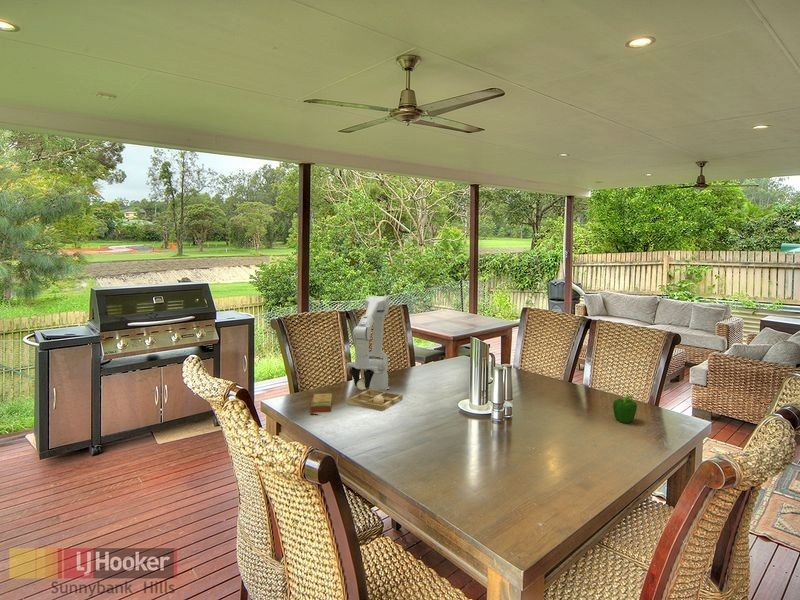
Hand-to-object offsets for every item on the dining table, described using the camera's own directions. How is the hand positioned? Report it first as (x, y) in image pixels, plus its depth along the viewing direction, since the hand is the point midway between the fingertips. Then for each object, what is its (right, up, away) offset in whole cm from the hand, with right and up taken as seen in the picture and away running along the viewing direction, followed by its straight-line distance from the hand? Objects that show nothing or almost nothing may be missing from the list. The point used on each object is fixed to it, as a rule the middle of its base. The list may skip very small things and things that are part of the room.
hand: (362, 386), depth 204 cm
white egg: (0, -1, 0) cm, 1 cm away
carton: (-17, -9, -2) cm, 19 cm away
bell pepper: (+103, -11, -16) cm, 104 cm away
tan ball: (+7, -8, -3) cm, 11 cm away
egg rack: (+5, -8, +3) cm, 10 cm away
